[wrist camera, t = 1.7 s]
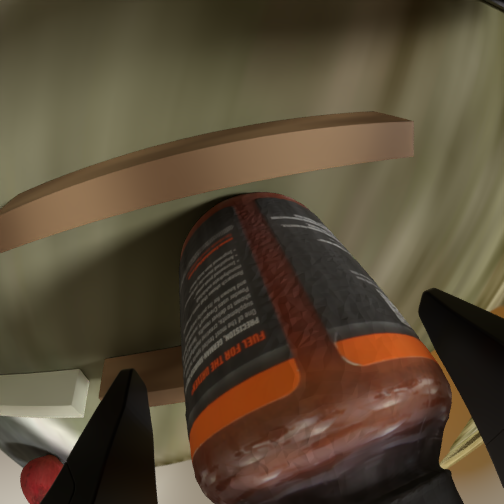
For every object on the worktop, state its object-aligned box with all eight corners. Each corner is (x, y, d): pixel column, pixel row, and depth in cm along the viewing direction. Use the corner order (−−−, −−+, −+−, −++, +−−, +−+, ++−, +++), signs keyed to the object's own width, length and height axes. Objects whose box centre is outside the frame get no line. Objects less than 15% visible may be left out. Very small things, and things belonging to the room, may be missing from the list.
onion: (21, 435, 17) (10, 509, 11) (78, 453, 19) (75, 530, 13) (30, 455, 20) (23, 518, 13) (80, 470, 22) (78, 534, 15)
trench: (373, 111, 10) (413, 121, 8) (366, 313, 16) (388, 345, 14) (18, 194, 9) (-14, 221, 7) (114, 372, 14) (110, 410, 12)
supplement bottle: (172, 307, 13) (195, 591, 3) (192, 174, 10) (261, 633, 1) (297, 316, 15) (396, 539, 5) (342, 202, 12) (556, 442, 2)
